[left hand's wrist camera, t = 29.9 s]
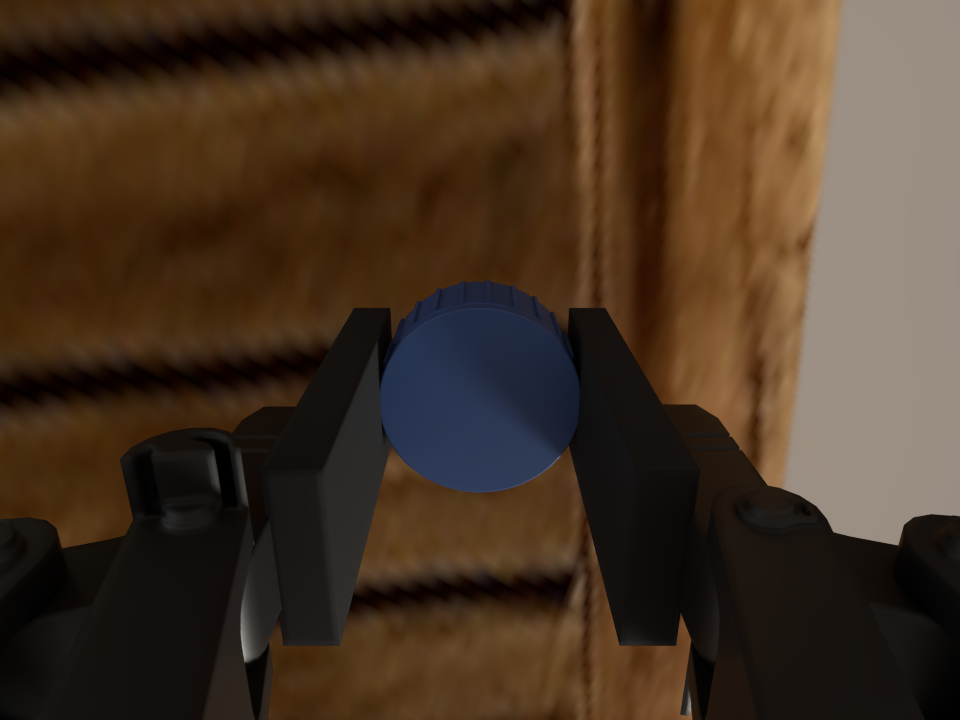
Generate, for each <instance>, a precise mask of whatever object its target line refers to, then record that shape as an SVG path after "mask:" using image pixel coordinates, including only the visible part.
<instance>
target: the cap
mask: <svg viewBox="0 0 960 720" xmlns="http://www.w3.org/2000/svg"><path fill="white" fill-rule="evenodd" d="M573 358H575V355H574V353H573V350H572V347H571V345H570V342H569V339H568V336H567V334H566V331H565V332H562V330H561V328H560V326H559V324H558V323H557V320H556V317H555V314H554V313H553V312H551V313H550V312H549V311H548V310H547V309H546V308H545V307H544V306H543V305H542V304H540V303H539V302H538V300H537V297H535V296H533V297H531V296H529V295H528V294H526V293H524V292H522V291H520V290H518V289H515V286H514V285H511V286H506V285H503V284H498V283H491V282H490V280H486V282H469V283H465V281H461V284H457V285H453V286H450V287H447V288H445V289H442V290H441V288H439V289H437V291H436V293H434V294H432V295H430V296H429V297H427V298H426V299H425V300H423V301H422V302H420V301H418V302H417V303H416V305H415V308H414V309H413V310H412V311H411V312H410V313H409V315H408V316H407V317H406V318H405V319H403V318H402V319H401V321H400V323H399V326H398V329H397V332H396V335H395V337H394V339H391V341H390V344H389V347H388V350H387V352H386V355H385V358H384V360H383V363H382V366H383V367H384V370H383V373H382V377H381V381H380V406H381V421H382V426H383V429H384V432H385V434H386V436H387V438H388V440H389V442H390V444H391V445H392V447H393V448H394V449H395V451H396V452H397V454H398V455H399V456H400V457H401V458H402V459H403V460H404V462H405V463H406V464H408V465H409V466H410V467H411V468H412V469H413V470H415V471H416V472H417V473H419V474H420V475H422V476H423V477H425V478H427V479H429V480H431V481H433V482H435V483H437V484H440V485H442V486H445V487H448V488H452V489H456V490H461V491H468V492H491V491H499V490H504V489H508V488H512V487H515V486H518V485H521V484H523V483H525V482H527V481H529V480H531V479H533V478H535V477H536V476H538V475H540V474H541V473H543V472H544V471H545V470H546V469H548V468H549V467H550V466H551V465H553V463H554V462H555V461H556V460H557V459H558V458H559V457H560V456H561V455H562V453H563V452H564V451H565V449H566V448H567V447H568V445H569V443H570V441H571V440H572V438H573V436H574V434H575V431H576V428H577V426H578V415H579V399H580V381H579V376H578V373H577V371H576V368H575V365H574V362H573Z"/></svg>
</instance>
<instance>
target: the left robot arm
mask: <svg viewBox="0 0 960 720" xmlns="http://www.w3.org/2000/svg"><path fill="white" fill-rule="evenodd" d="M391 339H392V333H391V313H390V308H354V309H353V311H352V313H351V315H350V316H349V318H348V320H347V321H346V323H345V325H344V326H343V328H342V330H341V331H340V333H339V335H338V337H337V338H336V340H335V342H334V343H333V345H332V347H331V348H330V350H329V352H328V354H327V355H326V357H325V359H324V360H323V362H322V364H321V365H320V367H319V369H318V370H317V372H316V374H315V376H314V377H313V379H312V381H311V382H310V384H309V386H308V387H307V389H306V391H305V393H304V394H303V396H302V398H301V399H300V401H299V403H298V404H297V406H296V407H263V408H261V409H260V410H258V411H256V412H255V413H253V414H251V415H250V416H248V417H247V418H245V419H243V420H242V421H241V422H240V424H239V425H238V426H237V428H236V429H235V431H234V432H233V433H232V434H231V433H230V432H228V431H224V430H219V429H215V428H189V429H183V430H177V431H170V432H167V433H164V434H161V435H158V436H155V437H152V438H149V439H147V440H145V441H143V442H141V443H139V444H137V445H136V446H134V447H132V448H130V449H129V450H128V451H127V452H126V453H125V454H124V455H123V456H122V457H121V458H120V462H121V466H122V471H123V475H124V480H125V484H126V488H127V493H128V497H129V502H130V506H131V511H132V515H133V522H132V524H131V526H130V528H129V530H128V532H127V534H126V536H122V537H118V538H114V539H110V540H105V541H99V542H94V543H89V544H84V545H78V546H73V547H68V548H62V547H61V544H60V540H59V536H58V533H57V529H56V528H55V527H54V526H53V525H52V524H50V523H49V522H48V521H46V520H41V519H35V518H29V517H28V518H16V519H2V520H0V720H267V719H268V711H269V702H270V694H271V685H272V677H273V666H272V660H271V653H270V646H269V640H270V637H271V634H272V632H273V629H274V627H275V624H276V622H277V619H278V616H280V623H281V630H282V638H283V645H284V646H340V643H341V639H342V635H343V631H344V627H345V623H346V619H347V615H348V611H349V608H350V604H351V600H352V596H353V592H354V588H355V584H356V580H357V576H358V572H359V568H360V564H361V560H362V556H363V552H364V548H365V545H366V541H367V537H368V533H369V529H370V525H371V521H372V517H373V513H374V509H375V505H376V501H377V497H378V493H379V489H380V485H381V482H382V478H383V474H384V470H385V466H386V462H387V458H388V454H389V450H390V446H391V444H390V442H389V440H388V438H387V436H386V434H385V432H384V429H383V426H382V421H381V406H380V381H381V377H382V373H383V370H384V367H383V366H382V363H383V360H384V358H385V355H386V352H387V350H388V347H389V344H390V341H391ZM568 339H569V342H570V345H571V347H572V350H573V353H574V355H575V358H573V362H574V365H575V368H576V371H577V373H578V376H579V381H580V399H579V415H578V426H577V428H576V431H575V434H574V436H573V438H572V440H571V441H570V443H569V448H570V452H571V456H572V460H573V464H574V467H575V471H576V475H577V479H578V483H579V487H580V491H581V495H582V499H583V503H584V507H585V511H586V515H587V519H588V523H589V527H590V530H591V534H592V538H593V542H594V546H595V550H596V554H597V558H598V562H599V566H600V570H601V574H602V578H603V582H604V586H605V590H606V593H607V597H608V601H609V605H610V609H611V613H612V617H613V621H614V625H615V629H616V633H617V637H618V641H619V645H620V646H676V642H677V634H678V627H679V620H680V613H681V614H682V617H683V619H684V622H685V624H686V627H687V630H688V632H689V635H690V637H691V646H690V653H689V660H688V666H687V673H686V680H685V687H684V693H683V700H682V707H681V713H680V715H686V716H689V714H690V709H692V718H693V720H960V516H947V515H933V514H930V515H925V516H919V517H914V518H912V519H911V520H910V521H909V522H907V523H906V524H905V525H904V527H903V531H902V534H901V538H900V542H899V545H892V544H887V543H882V542H876V541H871V540H866V539H860V538H855V537H850V536H846V535H842V534H838V533H834V532H833V531H832V529H831V527H830V525H829V523H828V521H827V519H826V517H825V516H824V515H823V514H822V513H821V511H820V510H819V509H818V508H817V507H816V506H815V505H813V504H812V503H810V502H809V501H807V500H806V499H804V498H802V497H801V496H799V495H796V494H794V493H791V492H789V491H786V490H783V489H781V488H777V487H772V486H768V485H767V484H766V483H765V481H764V480H763V479H762V477H761V476H760V474H759V473H758V472H757V470H756V469H755V468H754V466H753V465H752V464H751V462H750V461H749V460H748V458H747V457H746V456H745V454H744V453H743V451H742V450H739V446H738V445H737V443H736V442H735V441H734V439H733V438H732V437H730V436H729V435H730V434H729V432H728V431H727V430H726V428H725V427H724V426H723V424H722V423H721V422H720V420H719V419H718V418H717V417H715V416H714V415H712V414H710V413H709V412H707V411H705V410H704V409H702V408H701V407H699V406H697V405H662V403H661V402H660V400H659V398H658V397H657V395H656V393H655V392H654V390H653V388H652V387H651V385H650V383H649V381H648V380H647V378H646V376H645V375H644V373H643V371H642V370H641V368H640V366H639V364H638V363H637V361H636V359H635V358H634V356H633V354H632V353H631V351H630V349H629V348H628V346H627V344H626V342H625V341H624V339H623V337H622V336H621V334H620V332H619V331H618V329H617V327H616V325H615V324H614V322H613V320H612V319H611V317H610V315H609V314H608V312H607V310H606V309H605V308H569V324H568Z"/></svg>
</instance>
